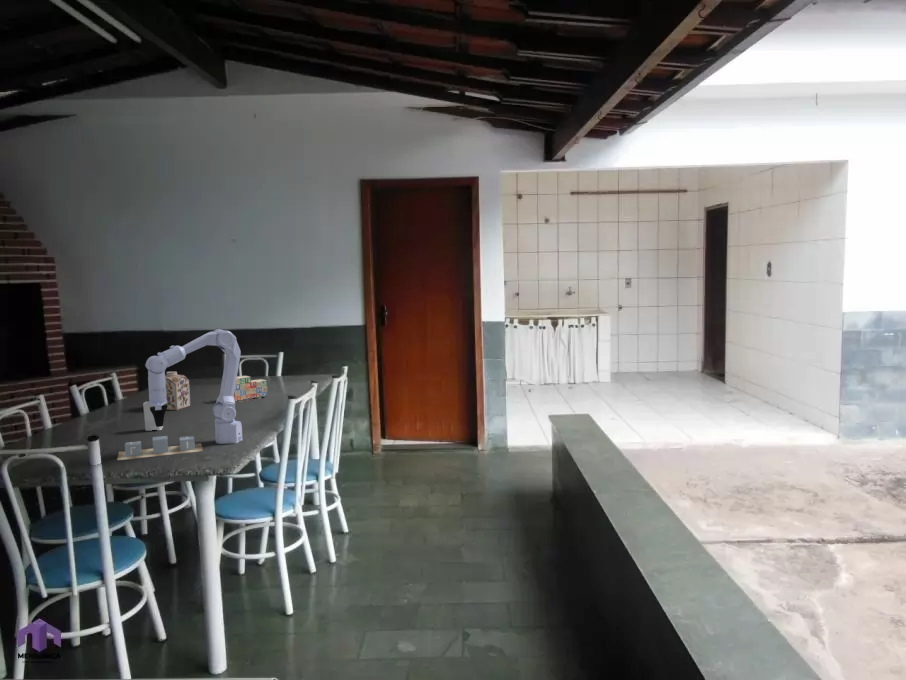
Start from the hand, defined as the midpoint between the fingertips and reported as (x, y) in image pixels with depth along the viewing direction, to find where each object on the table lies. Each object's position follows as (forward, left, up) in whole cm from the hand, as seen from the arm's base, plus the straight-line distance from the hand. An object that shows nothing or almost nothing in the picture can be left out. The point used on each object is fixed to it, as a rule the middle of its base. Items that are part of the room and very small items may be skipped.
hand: (159, 426), depth 238 cm
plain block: (0, 0, -9) cm, 9 cm away
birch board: (0, 0, -10) cm, 10 cm away
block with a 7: (+8, +4, -9) cm, 13 cm away
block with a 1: (-8, -4, -9) cm, 13 cm away
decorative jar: (+36, -83, -11) cm, 91 cm away
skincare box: (+22, -37, -11) cm, 44 cm away
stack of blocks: (+8, -105, -11) cm, 106 cm away
